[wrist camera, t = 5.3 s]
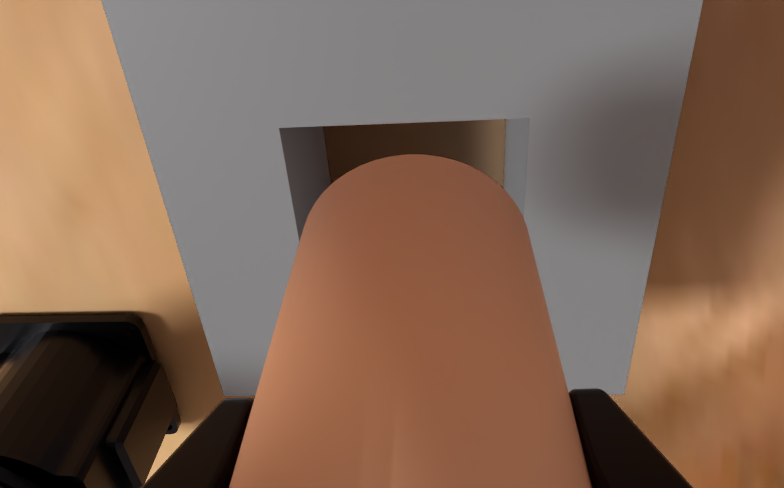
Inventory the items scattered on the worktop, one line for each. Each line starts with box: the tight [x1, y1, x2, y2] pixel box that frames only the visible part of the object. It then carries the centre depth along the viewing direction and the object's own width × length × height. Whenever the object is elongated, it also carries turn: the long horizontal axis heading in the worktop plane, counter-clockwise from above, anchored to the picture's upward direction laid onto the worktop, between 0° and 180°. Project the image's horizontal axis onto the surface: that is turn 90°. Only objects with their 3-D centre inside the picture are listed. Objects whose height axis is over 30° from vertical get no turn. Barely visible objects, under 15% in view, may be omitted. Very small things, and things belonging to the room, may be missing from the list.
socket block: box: [101, 0, 703, 396], centre depth 18 cm, size 12×12×5 cm
